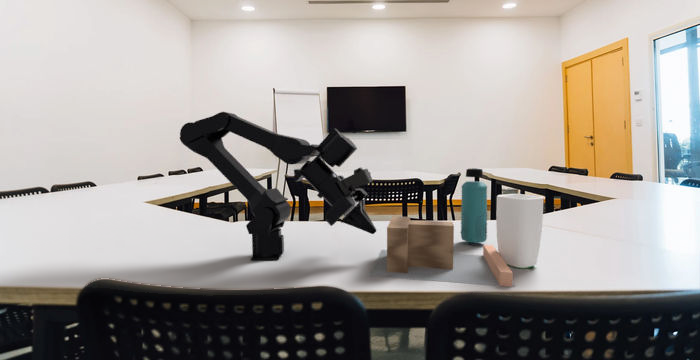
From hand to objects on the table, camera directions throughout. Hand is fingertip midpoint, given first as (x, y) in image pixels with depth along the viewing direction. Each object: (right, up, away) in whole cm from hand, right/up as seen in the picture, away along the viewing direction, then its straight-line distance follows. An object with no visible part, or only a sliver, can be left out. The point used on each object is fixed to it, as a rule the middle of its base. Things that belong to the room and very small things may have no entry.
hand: (374, 232), depth 73 cm
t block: (+10, -6, -2) cm, 12 cm away
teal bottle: (+27, -6, +14) cm, 31 cm away
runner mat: (+13, -7, -2) cm, 15 cm away
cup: (+30, -7, -2) cm, 31 cm away
